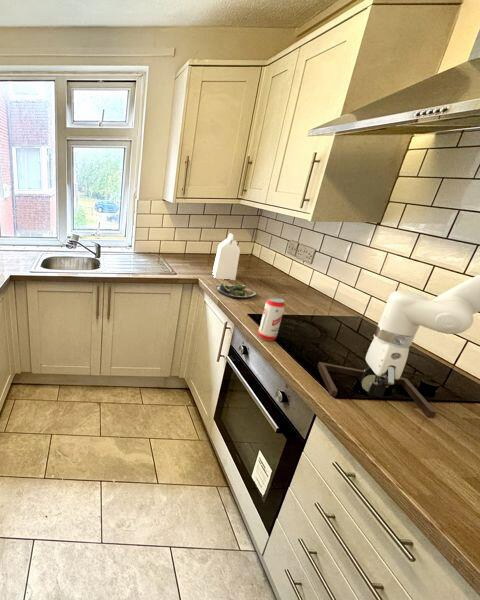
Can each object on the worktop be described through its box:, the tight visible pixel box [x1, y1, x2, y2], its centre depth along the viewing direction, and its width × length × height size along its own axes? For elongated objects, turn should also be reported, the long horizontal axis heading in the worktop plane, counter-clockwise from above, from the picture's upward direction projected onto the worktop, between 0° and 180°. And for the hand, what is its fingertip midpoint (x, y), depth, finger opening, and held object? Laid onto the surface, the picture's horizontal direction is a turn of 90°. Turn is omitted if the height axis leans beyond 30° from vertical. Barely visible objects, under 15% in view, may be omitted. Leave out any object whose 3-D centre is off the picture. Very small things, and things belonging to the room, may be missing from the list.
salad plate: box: [214, 283, 257, 300], centre depth 167 cm, size 19×18×5 cm
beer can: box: [257, 296, 286, 342], centre depth 119 cm, size 6×6×16 cm
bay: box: [316, 361, 437, 419], centre depth 93 cm, size 22×16×2 cm
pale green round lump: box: [361, 375, 382, 392], centre depth 92 cm, size 4×5×5 cm
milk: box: [212, 233, 241, 281], centre depth 189 cm, size 12×12×26 cm
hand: (370, 389), depth 93 cm, fingers closed on pale green round lump, 5 cm apart
